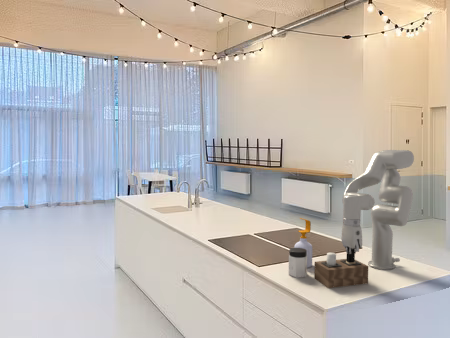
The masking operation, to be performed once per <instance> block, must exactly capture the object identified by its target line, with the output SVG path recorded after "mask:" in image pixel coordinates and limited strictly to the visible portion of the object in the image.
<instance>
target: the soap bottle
mask: <svg viewBox="0 0 450 338" xmlns="http://www.w3.org/2000/svg"><path fill="white" fill-rule="evenodd" d="M299 219H300V220H303V221H304V222H305V229H303V230H302V229H301V230H298V231H297V232H299V233H300V234H301V236H300V237H299V238H300V239H299V241H297V242H296V243H295V244H294V247H293V248H303V249H306V250H307V269H308V268H311V267H312V266H313V245H312V244H311V243H310V242H309V241H307V240H308V237H307V236H306V235H307V233H310V232H311V227H312V226H311V221H310V220H309V219H306V218H302V217H299Z"/></svg>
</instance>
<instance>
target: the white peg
mask: <svg viewBox="0 0 450 338" xmlns="http://www.w3.org/2000/svg"><path fill="white" fill-rule="evenodd" d="M336 260H337V253H335V252H327V253H326V261H327V265H329V266H335V265H336Z"/></svg>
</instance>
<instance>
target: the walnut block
mask: <svg viewBox="0 0 450 338" xmlns="http://www.w3.org/2000/svg"><path fill="white" fill-rule="evenodd" d="M346 261H347V258H340V259H336V265H335V266H329V265H327V260H321V261H320V260H319V261H314V274H313V276H314V280H316V281H317V282H319V283H320V284H321V285H322V286H324V287H326V288H327V289H332V288H334V289H335V288H341V287H350V286H359V285H367V284H369V265H367V264H365V263H363V262H361V261H359V260H357V259H355V264H348V263H346Z"/></svg>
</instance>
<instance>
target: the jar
mask: <svg viewBox="0 0 450 338" xmlns="http://www.w3.org/2000/svg"><path fill="white" fill-rule="evenodd" d="M307 273H308V268H307V250H306V249H303V248H294V247H291V248H289V255H288V276H290V277H293V278H306V276H307V275H308V274H307Z"/></svg>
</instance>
